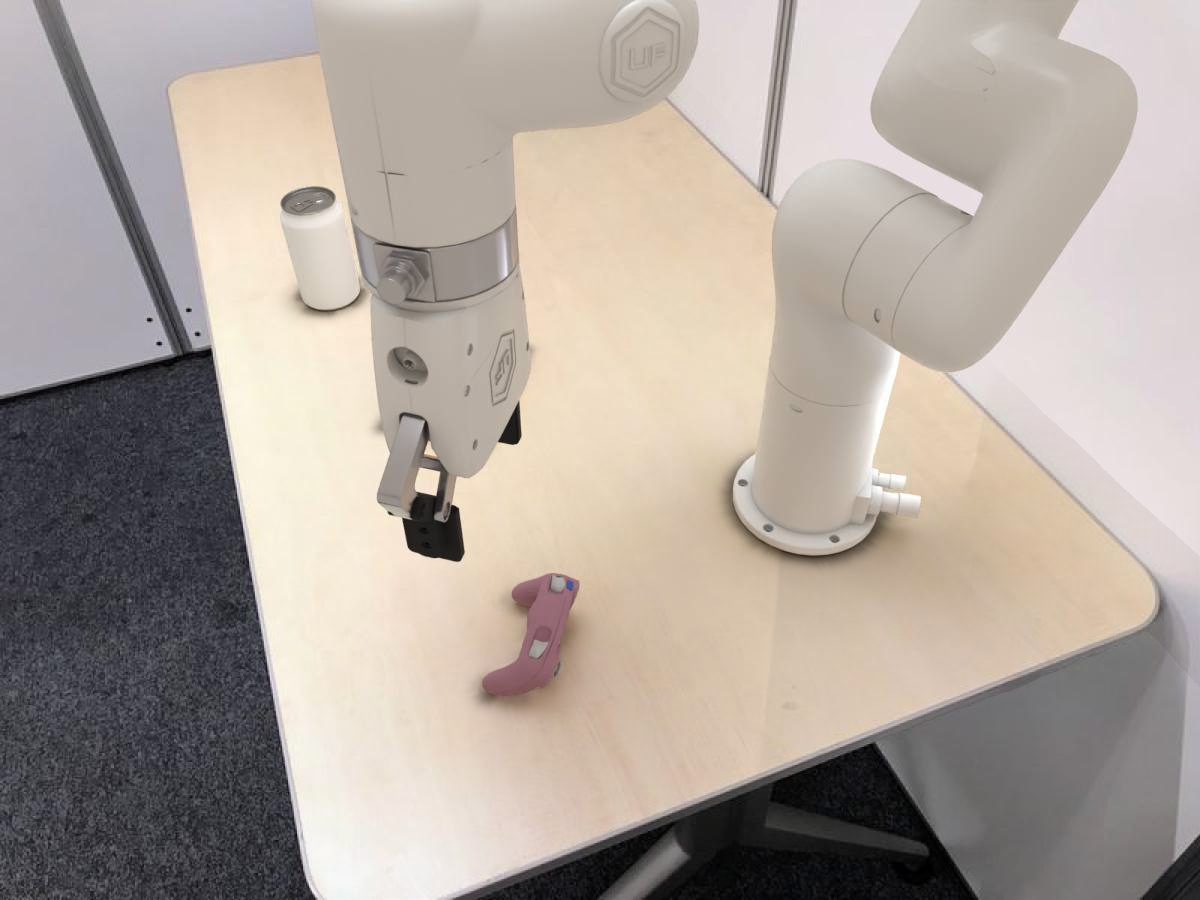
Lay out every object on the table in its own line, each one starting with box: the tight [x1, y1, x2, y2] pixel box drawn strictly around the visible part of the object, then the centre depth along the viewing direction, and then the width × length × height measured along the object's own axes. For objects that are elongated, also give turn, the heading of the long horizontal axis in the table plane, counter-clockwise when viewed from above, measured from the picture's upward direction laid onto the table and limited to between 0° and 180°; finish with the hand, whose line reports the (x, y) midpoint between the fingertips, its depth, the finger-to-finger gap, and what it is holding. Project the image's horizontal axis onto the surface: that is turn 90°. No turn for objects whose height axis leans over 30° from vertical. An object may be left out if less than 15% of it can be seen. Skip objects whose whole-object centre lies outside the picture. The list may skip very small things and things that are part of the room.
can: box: [279, 185, 361, 312], centre depth 104 cm, size 6×6×12 cm
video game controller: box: [481, 572, 580, 697], centre depth 73 cm, size 10×5×7 cm, turn 168°
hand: (468, 492), depth 57 cm, fingers open, 9 cm apart
